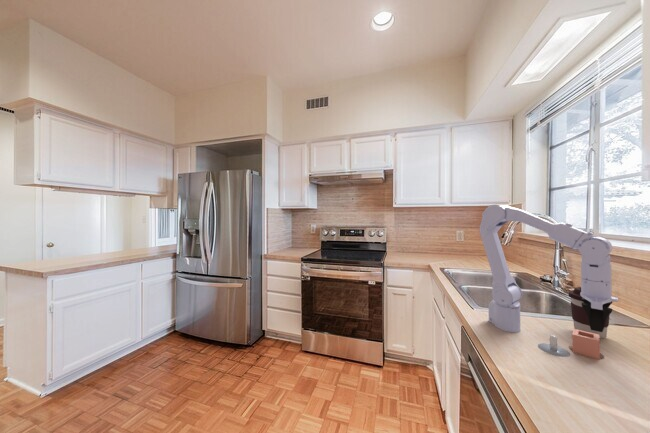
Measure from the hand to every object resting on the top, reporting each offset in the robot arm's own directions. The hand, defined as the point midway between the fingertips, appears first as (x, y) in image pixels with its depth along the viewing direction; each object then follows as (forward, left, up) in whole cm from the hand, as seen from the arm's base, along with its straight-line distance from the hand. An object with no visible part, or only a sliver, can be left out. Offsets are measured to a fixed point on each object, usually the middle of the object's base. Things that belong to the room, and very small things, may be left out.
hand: (596, 327), depth 69 cm
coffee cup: (-12, +12, -9) cm, 19 cm away
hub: (-2, -1, -8) cm, 9 cm away
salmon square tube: (-2, -1, -8) cm, 8 cm away
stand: (-3, -9, -8) cm, 13 cm away
